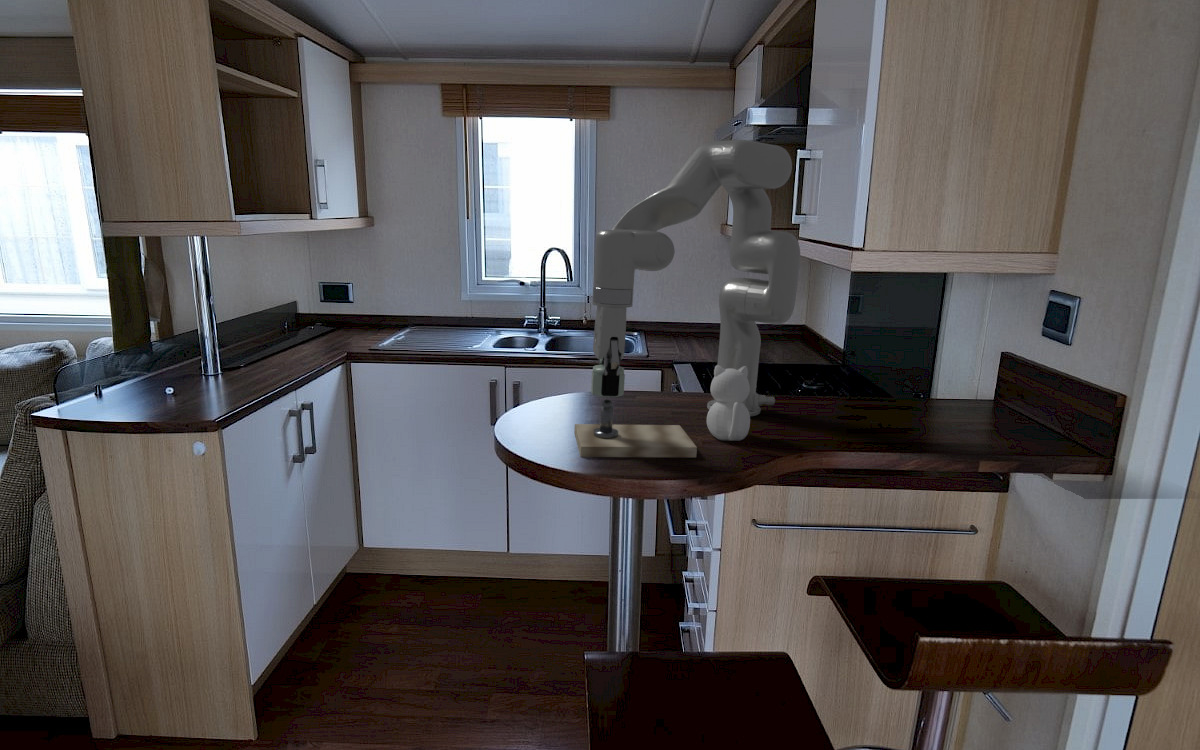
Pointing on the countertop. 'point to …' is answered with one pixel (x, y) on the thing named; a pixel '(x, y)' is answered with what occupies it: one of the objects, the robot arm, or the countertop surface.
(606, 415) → the pin
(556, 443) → the countertop surface
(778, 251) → the robot arm
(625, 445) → the board
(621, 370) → the cap
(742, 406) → the cat figurine
